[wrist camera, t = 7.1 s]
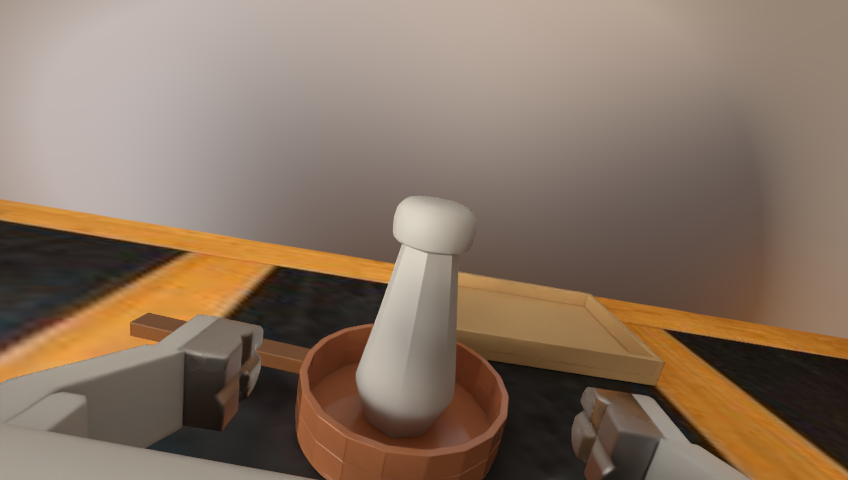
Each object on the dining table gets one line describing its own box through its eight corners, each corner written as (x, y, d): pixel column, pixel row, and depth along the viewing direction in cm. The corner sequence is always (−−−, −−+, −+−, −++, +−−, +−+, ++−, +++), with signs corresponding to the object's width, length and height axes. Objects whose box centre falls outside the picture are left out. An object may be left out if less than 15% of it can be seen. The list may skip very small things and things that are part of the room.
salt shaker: (416, 376, 27) (453, 193, 24) (466, 433, 23) (520, 217, 19) (336, 393, 24) (365, 184, 21) (375, 464, 19) (421, 211, 16)
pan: (537, 448, 23) (550, 405, 22) (362, 560, 15) (373, 500, 14) (416, 346, 31) (422, 313, 31) (265, 386, 24) (269, 342, 23)
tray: (585, 311, 46) (590, 293, 45) (656, 386, 32) (665, 362, 32) (416, 283, 45) (420, 265, 44) (415, 349, 31) (420, 323, 30)
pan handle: (316, 363, 24) (317, 350, 24) (307, 376, 22) (309, 362, 22) (148, 325, 24) (148, 312, 24) (129, 335, 23) (129, 322, 23)
